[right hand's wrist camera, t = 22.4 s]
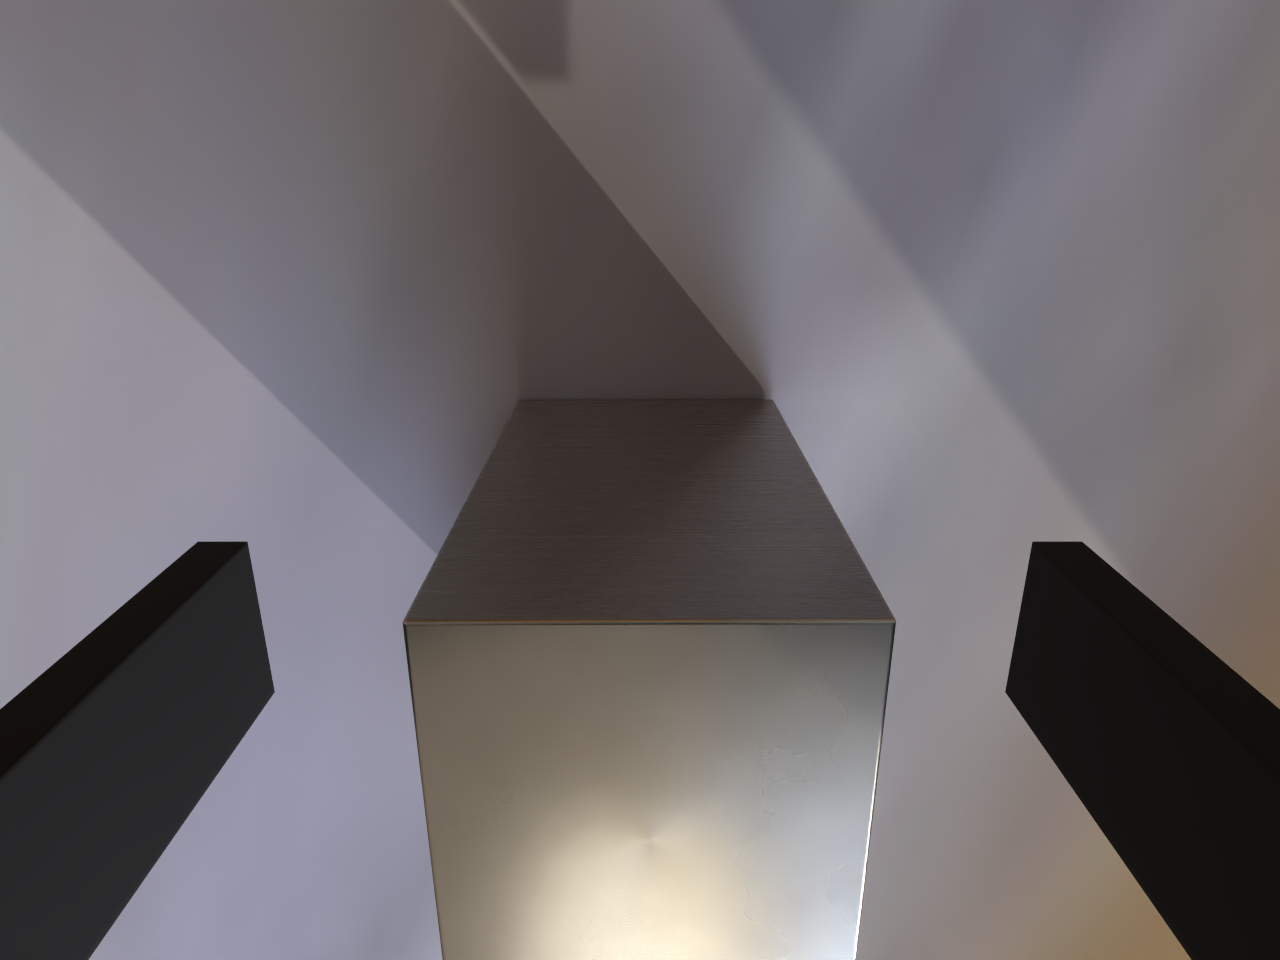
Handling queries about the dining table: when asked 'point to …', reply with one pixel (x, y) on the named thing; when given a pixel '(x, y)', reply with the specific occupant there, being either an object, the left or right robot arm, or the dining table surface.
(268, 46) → the dining table surface
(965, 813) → the dining table surface
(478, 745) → the brick
